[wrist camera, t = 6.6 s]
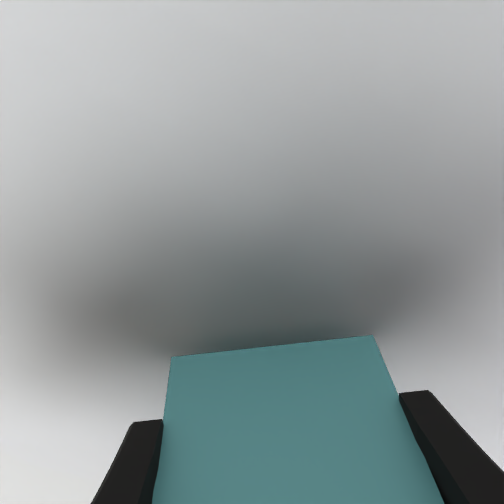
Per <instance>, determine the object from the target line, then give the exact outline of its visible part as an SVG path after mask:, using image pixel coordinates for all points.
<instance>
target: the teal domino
mask: <svg viewBox="0 0 504 504" xmlns="http://www.w3.org/2000/svg"><path fill="white" fill-rule="evenodd" d="M163 424H164V429H163V436H162V444H161V452H160V459H159V467H158V472H157V477H156V481H155V486H154V491H153V499H152V504H444V502H443V499H442V497H441V495H440V492H439V490H438V488H437V485H436V483H435V480H434V478H433V476H432V473H431V471H430V469H429V466H428V464H427V462H426V459H425V457H424V455H423V453H422V451H421V450H420V448H419V446H418V444H417V442H416V440H415V438H414V435H413V433H412V430H411V428H410V426H409V423H408V421H407V419H406V416H405V414H404V411H403V409H402V407H401V404H400V402H399V396H398V393H397V391H396V388H395V386H394V384H393V381H392V379H391V377H390V374H389V372H388V370H387V367H386V365H385V363H384V360H383V358H382V355H381V353H380V351H379V348H378V346H377V344H376V341H375V339H374V337H373V335H368V336H359V337H349V338H340V339H331V340H322V341H313V342H304V343H295V344H286V345H276V346H267V347H258V348H249V349H240V350H231V351H222V352H212V353H203V354H194V355H185V356H176V357H171V365H170V372H169V380H168V387H167V395H166V402H165V409H164V417H163Z"/></svg>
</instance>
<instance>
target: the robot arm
mask: <svg viewBox="0 0 504 504" xmlns="http://www.w3.org/2000/svg"><path fill="white" fill-rule="evenodd" d="M399 402H400V404H401V407H402V409H403V411H404V414H405V416H406V419H407V421H408V423H409V426H410V428H411V430H412V433H413V435H414V438H415V440H416V442H417V444H418V446H419V448H420V450H421V451H422V453H423V455H424V457H425V459H426V462H427V464H428V466H429V469H430V471H431V473H432V476H433V478H434V480H435V483H436V485H437V488H438V490H439V492H440V495H441V497H442V499H443V502H444V504H504V472H503V471H502V470H501V468H500V467H499V466H498V465H497V464H496V463H495V462H494V461H493V460H492V459H491V458H490V457H489V456H488V455H487V454H486V453H485V452H484V451H483V450H482V449H481V448H480V447H479V445H478V444H477V443H476V442H475V441H474V440H473V439H472V438H471V437H470V436H469V435H468V433H467V432H466V431H465V430H464V429H463V428H462V427H461V426H460V425H459V423H458V422H457V421H456V420H455V419H454V418H453V417H452V416H451V414H450V413H449V412H448V411H447V410H446V409H445V408H444V406H443V405H442V404H441V403H440V402H439V401H438V400H437V398H436V397H435V396H434V395H433V394H432V393H431V392H430V391H428V390H423V391H414V392H405V393H399ZM163 429H164V424H163V420H162V419H158V420H149V421H140V422H133V424H132V425H131V426H130V427H129V429H128V431H127V433H126V436H125V438H124V440H123V442H122V444H121V446H120V448H119V450H118V452H117V455H116V457H115V459H114V461H113V463H112V465H111V467H110V469H109V471H108V472H107V474H106V476H105V478H104V480H103V482H102V484H101V486H100V488H99V490H98V492H97V493H96V495H95V497H94V499H93V501H92V503H91V504H152V499H153V491H154V486H155V481H156V477H157V472H158V467H159V459H160V452H161V444H162V436H163Z"/></svg>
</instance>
